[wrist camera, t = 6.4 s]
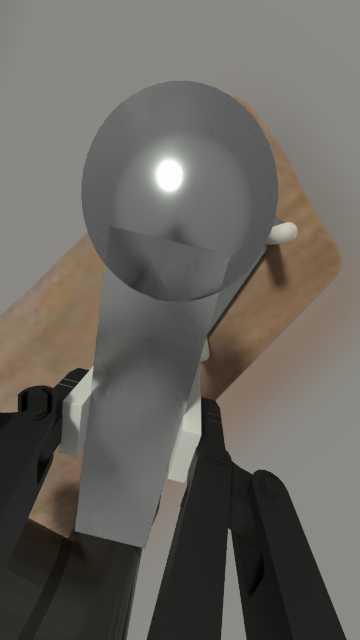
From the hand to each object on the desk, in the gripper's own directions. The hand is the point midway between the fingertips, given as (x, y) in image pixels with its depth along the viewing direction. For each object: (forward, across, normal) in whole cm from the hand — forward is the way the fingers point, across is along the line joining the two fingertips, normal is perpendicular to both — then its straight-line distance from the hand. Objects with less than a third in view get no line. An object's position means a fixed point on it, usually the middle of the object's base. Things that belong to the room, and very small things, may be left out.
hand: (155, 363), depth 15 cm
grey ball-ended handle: (0, 0, +2) cm, 2 cm away
